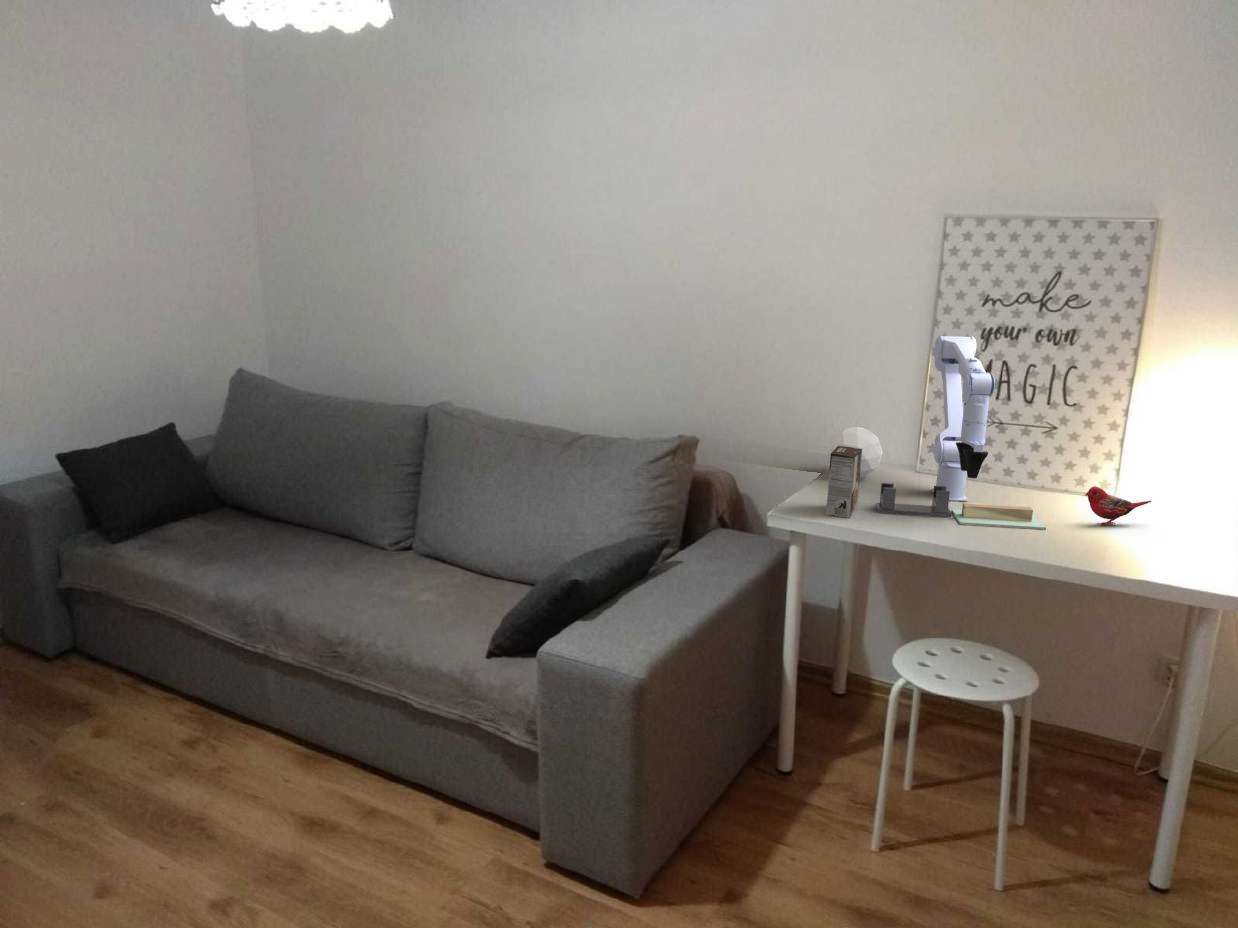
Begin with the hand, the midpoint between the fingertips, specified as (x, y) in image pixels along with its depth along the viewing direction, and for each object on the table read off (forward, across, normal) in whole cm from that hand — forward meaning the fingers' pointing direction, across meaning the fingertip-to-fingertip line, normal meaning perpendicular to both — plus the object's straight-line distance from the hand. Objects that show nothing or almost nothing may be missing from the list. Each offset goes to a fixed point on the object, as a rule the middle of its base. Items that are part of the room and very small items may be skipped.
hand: (968, 474), depth 238 cm
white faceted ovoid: (+10, -29, -24) cm, 38 cm away
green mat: (+10, +5, +7) cm, 13 cm away
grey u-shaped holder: (+10, +1, -13) cm, 17 cm away
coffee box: (+10, +5, -31) cm, 33 cm away
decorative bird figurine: (+11, +3, +35) cm, 37 cm away
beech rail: (+10, +5, +7) cm, 13 cm away
